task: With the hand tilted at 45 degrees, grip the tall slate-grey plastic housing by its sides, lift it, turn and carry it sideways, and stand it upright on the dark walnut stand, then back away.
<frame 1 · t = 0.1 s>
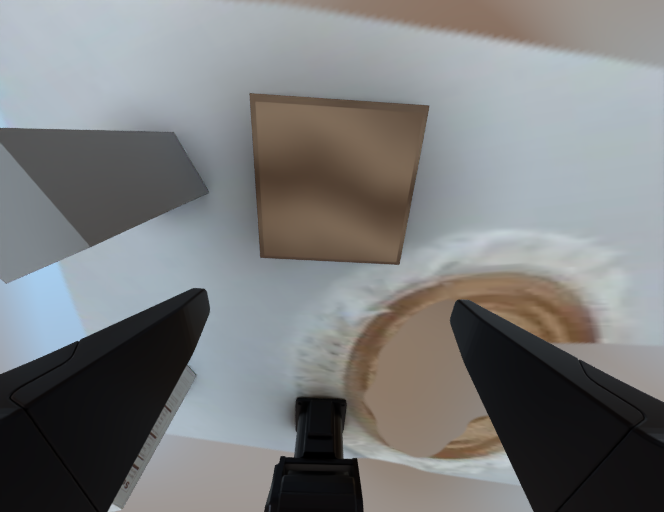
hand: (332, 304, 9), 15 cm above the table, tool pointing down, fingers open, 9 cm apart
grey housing: (166, 175, 21), on the table
supplement box: (156, 362, 31), on the table
walnut stand: (334, 185, 22), on the table
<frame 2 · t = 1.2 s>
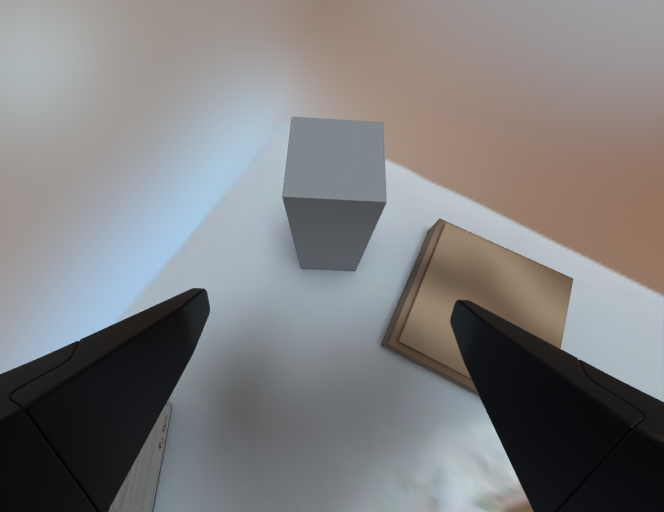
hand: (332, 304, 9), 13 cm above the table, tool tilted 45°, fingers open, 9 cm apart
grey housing: (329, 244, 24), on the table
supplement box: (114, 460, 18), on the table
walnut stand: (469, 313, 23), on the table
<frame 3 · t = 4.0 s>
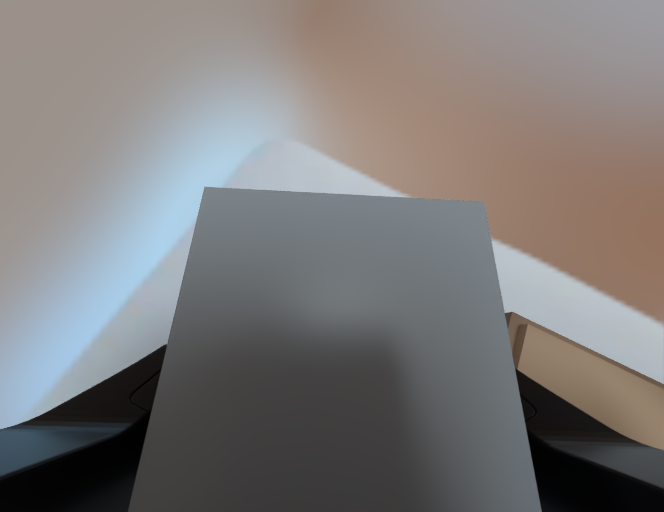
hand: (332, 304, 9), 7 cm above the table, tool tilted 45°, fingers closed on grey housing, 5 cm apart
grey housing: (326, 345, 15), on the table, touching gripper
walnut stand: (565, 475, 13), on the table
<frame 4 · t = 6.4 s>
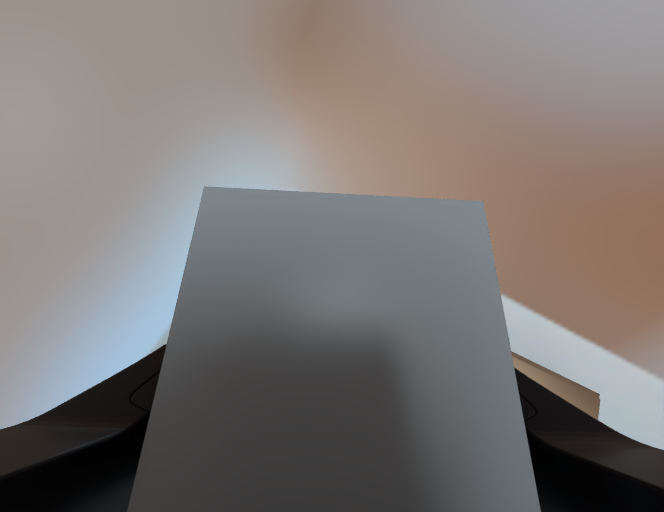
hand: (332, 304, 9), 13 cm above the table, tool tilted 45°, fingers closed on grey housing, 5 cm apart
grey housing: (326, 345, 15), point 7 cm above the table, touching gripper
walnut stand: (480, 428, 20), on the table
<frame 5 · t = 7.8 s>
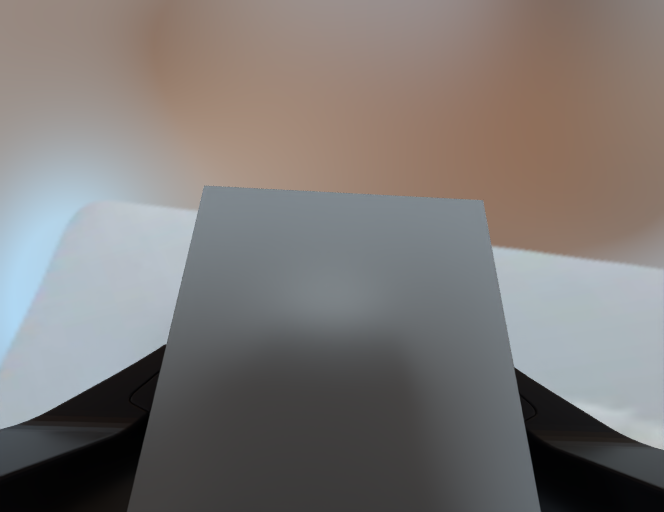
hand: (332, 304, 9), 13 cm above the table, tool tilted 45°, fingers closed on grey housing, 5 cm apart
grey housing: (326, 345, 15), point 7 cm above the table, touching gripper
when the fingers open (11 cm above the table, at t = 8.9 s): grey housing drops 1 cm, resting on walnut stand.
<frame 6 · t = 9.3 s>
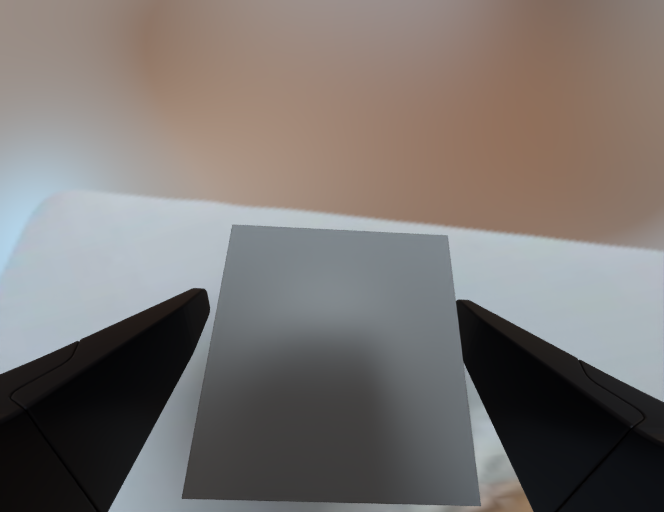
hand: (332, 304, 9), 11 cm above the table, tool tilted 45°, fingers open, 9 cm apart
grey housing: (326, 345, 16), point 3 cm above the table, touching walnut stand
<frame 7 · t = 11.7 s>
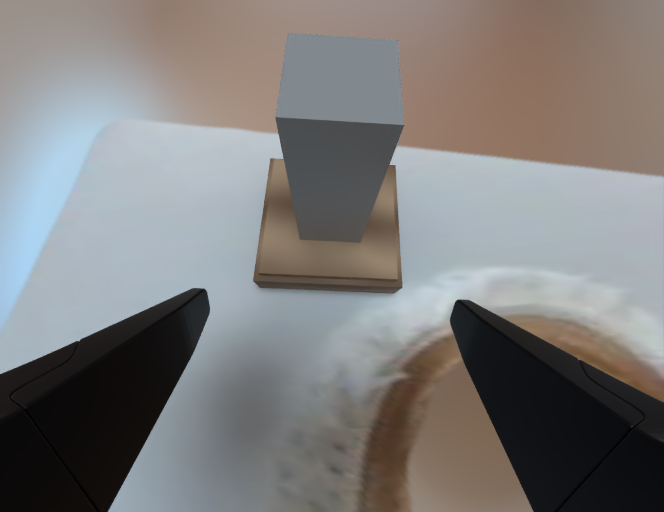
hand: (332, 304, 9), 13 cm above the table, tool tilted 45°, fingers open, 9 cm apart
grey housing: (331, 214, 22), point 3 cm above the table, touching walnut stand
walnut stand: (330, 229, 25), on the table
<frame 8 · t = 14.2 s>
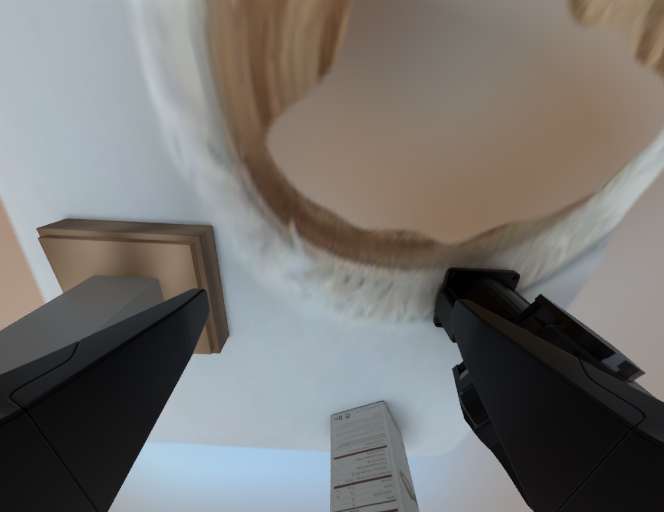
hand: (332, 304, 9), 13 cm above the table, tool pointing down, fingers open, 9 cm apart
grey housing: (134, 302, 21), point 3 cm above the table, touching walnut stand
supplement box: (366, 421, 33), on the table
walnut stand: (156, 283, 24), on the table
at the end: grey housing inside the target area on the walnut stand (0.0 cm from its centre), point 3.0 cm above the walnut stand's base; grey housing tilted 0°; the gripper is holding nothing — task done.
